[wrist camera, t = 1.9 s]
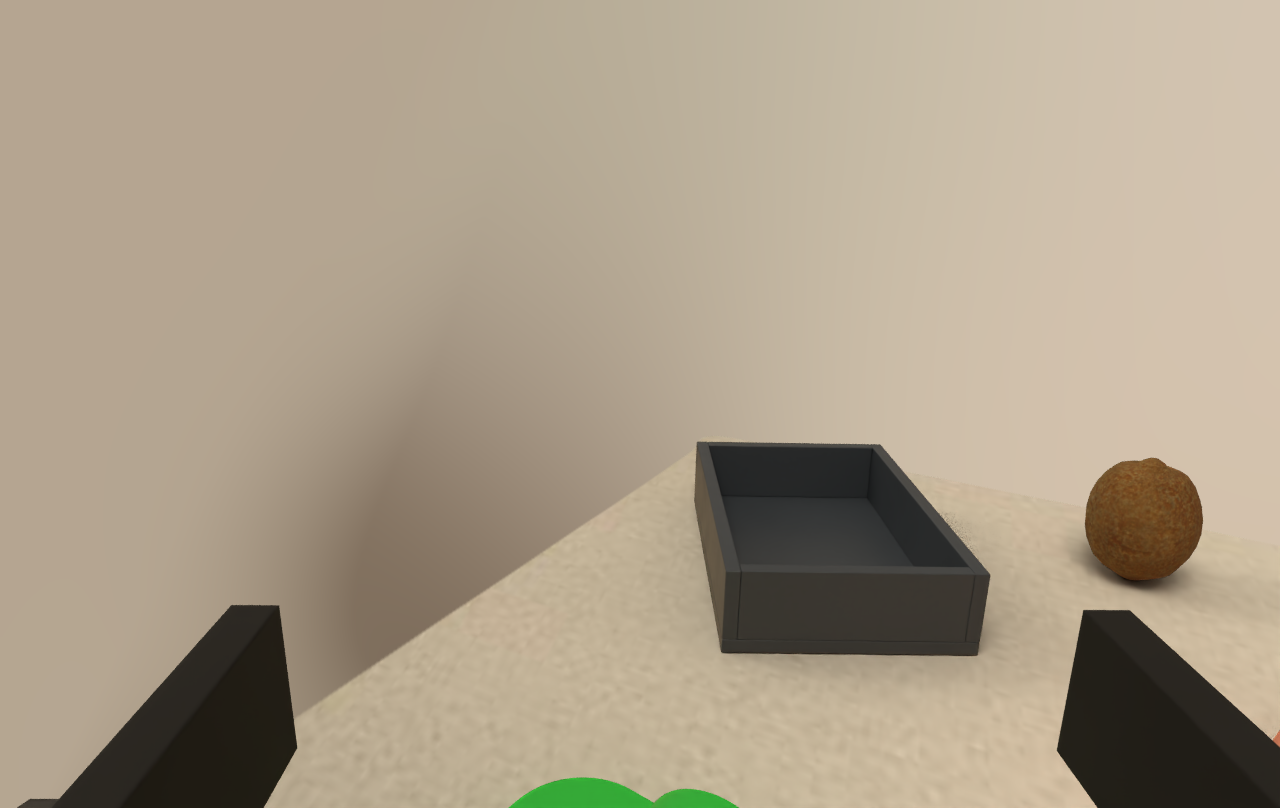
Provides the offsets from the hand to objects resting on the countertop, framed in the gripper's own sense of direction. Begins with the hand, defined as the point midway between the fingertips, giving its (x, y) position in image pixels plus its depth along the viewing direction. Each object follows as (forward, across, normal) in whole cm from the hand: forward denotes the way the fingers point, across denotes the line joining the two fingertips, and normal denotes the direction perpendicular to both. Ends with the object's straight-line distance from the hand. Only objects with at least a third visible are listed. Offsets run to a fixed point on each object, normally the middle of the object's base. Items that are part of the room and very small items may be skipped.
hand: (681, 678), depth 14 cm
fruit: (+35, +31, -17) cm, 50 cm away
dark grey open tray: (+36, +11, -17) cm, 41 cm away
